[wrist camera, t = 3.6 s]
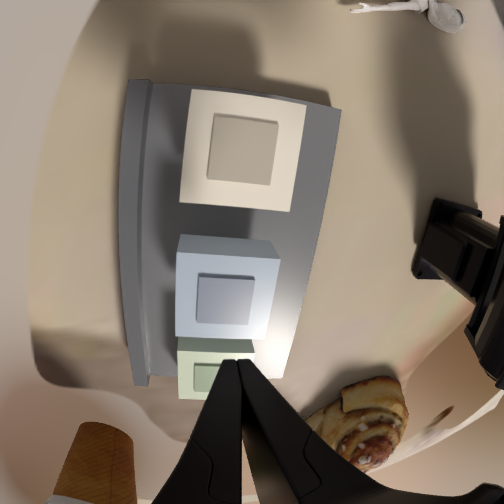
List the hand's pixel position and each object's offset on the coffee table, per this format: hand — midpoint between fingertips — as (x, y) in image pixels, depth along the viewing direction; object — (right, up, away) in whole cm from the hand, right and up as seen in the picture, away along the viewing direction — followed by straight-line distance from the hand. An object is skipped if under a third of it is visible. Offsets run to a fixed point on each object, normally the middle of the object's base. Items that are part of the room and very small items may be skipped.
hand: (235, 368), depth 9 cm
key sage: (-2, -3, +10) cm, 11 cm away
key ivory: (0, +8, +4) cm, 9 cm away
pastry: (+11, -16, +20) cm, 28 cm away
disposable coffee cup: (-15, -16, +16) cm, 27 cm away
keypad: (-1, +3, +9) cm, 10 cm away
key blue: (-1, +2, +6) cm, 7 cm away
